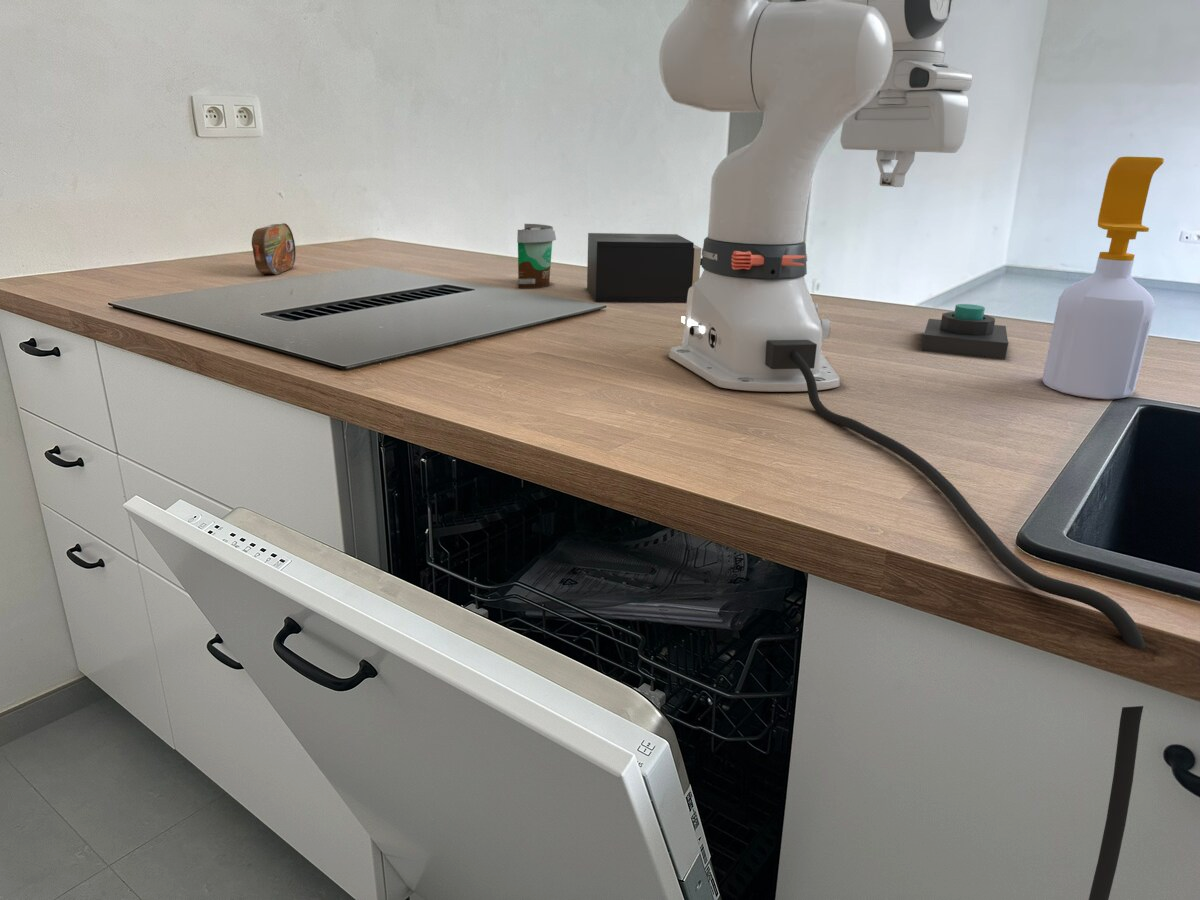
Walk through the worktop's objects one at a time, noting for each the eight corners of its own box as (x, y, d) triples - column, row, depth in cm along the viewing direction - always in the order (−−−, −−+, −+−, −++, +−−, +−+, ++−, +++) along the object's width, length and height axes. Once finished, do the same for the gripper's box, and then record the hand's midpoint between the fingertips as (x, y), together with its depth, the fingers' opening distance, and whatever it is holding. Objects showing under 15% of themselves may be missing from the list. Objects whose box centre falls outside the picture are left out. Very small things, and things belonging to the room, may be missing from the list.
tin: (269, 277, 153) (264, 229, 150) (251, 277, 153) (246, 228, 150) (298, 266, 167) (294, 221, 164) (282, 265, 167) (278, 220, 164)
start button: (982, 323, 112) (985, 309, 111) (953, 320, 113) (955, 307, 112) (982, 318, 115) (984, 305, 114) (953, 315, 116) (955, 303, 115)
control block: (1005, 360, 108) (1011, 328, 107) (921, 351, 112) (926, 320, 110) (1002, 341, 118) (1008, 312, 117) (926, 333, 122) (930, 305, 121)
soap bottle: (1046, 394, 93) (1097, 155, 85) (1037, 375, 101) (1083, 155, 93) (1140, 404, 90) (1202, 158, 82) (1123, 383, 98) (1178, 157, 90)
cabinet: (674, 289, 152) (677, 234, 149) (690, 302, 141) (693, 242, 137) (586, 289, 150) (588, 232, 147) (595, 302, 139) (597, 241, 135)
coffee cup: (553, 290, 148) (553, 231, 144) (517, 289, 148) (517, 230, 145) (557, 279, 159) (558, 224, 156) (524, 278, 160) (524, 223, 156)
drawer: (706, 285, 152) (709, 240, 150) (723, 296, 142) (726, 248, 139) (602, 284, 150) (603, 238, 147) (611, 295, 139) (612, 246, 137)
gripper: (836, 80, 122) (825, 182, 126) (945, 72, 104) (927, 191, 109) (871, 82, 124) (858, 182, 129) (983, 75, 107) (964, 191, 111)
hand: (891, 186), depth 119 cm, fingers closed
